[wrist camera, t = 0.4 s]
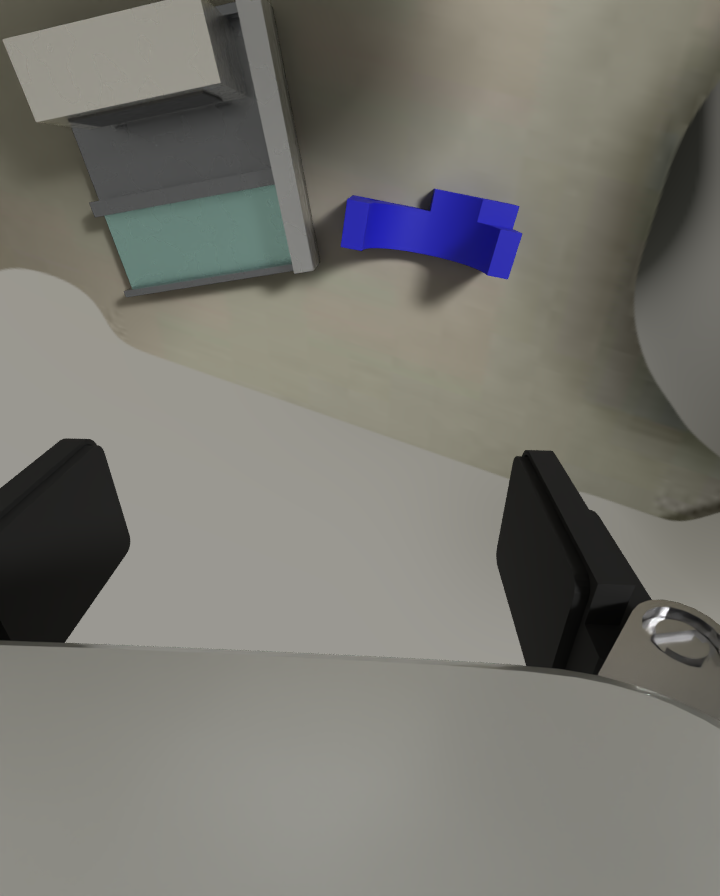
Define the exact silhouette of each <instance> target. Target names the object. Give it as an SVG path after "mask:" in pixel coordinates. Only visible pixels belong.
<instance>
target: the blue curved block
mask: <svg viewBox="0 0 720 896" xmlns="http://www.w3.org/2000/svg"><path fill="white" fill-rule="evenodd" d="M518 209H519V206H516V205H513V204H508V203H503V202H498V201H493V200H488V199H483V198H478V197H473V196H468V195H463V194H458V193H453V192H448V191H443V190H438V189H434V191H433V196H432V200H431V205H430V209H429V210H425V209H420V208H415V207H410V206H405V205H400V204H395V203H390V202H385V201H380V200H375V199H370V198H364V197H359V196H354V195H353V196H351V197H350V198H348V199H347V205H346V212H345V220H344V227H343V234H342V241H341V247H344V248H349V249H354V250H359V251H362V250H364V249H368V248H385V249H395V250H403V251H409V252H415V253H421V254H426V255H430V256H435V257H439V258H443V259H447V260H451V261H454V262H458V263H461V264H464V265H467V266H470V267H473V268H475V269H477V270H480V271H482V272H483V273H485V274H486V275H488V276H494V277H499V278H504V279H508V277H509V274H510V271H511V268H512V265H513V262H514V258H515V255H516V252H517V249H518V246H519V243H520V240H521V236H522V233H520V232H518V231H516V230H513V226H514V222H515V219H516V216H517V213H518Z"/></svg>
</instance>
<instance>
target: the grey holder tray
mask: <svg viewBox="0 0 720 896" xmlns="http://www.w3.org/2000/svg"><path fill="white" fill-rule="evenodd" d="M235 1H236V2H232V3H228V4H224V5H220V6H215V7H214V6H213V5H212V4H211V3H210V2H209V1H208V0H164V1H160V2H155V3H151V4H147V5H143V6H139V7H135V8H131V9H126V10H122V11H118V12H114V13H110V14H106V15H101V16H97V17H93V18H89V19H85V20H81V21H77V22H72V23H68V24H64V25H60V26H56V27H52V28H47V29H43V30H39V31H35V32H31V33H27V34H23V35H18V36H14V37H10V38H6V39H2V40H3V43H4V45H5V47H6V50H7V52H8V55H9V57H10V60H11V62H12V65H13V67H14V69H15V72H16V74H17V77H18V79H19V82H20V84H21V87H22V89H23V91H24V94H25V96H26V99H27V101H28V104H29V106H30V109H31V111H32V113H33V116H34V118H35V121H36V122H38V123H45V124H52V125H59V126H66V127H71V128H72V130H73V133H74V135H75V138H76V141H77V143H78V146H79V149H80V151H81V154H82V156H83V159H84V162H85V164H86V167H87V170H88V172H89V175H90V177H91V180H92V183H93V185H94V188H95V191H96V193H97V196H98V198H99V201H95V202H90V203H89V204H90V206H91V209H92V211H93V214H94V216H95V217H100V216H105V219H106V221H107V224H108V227H109V229H110V232H111V234H112V237H113V240H114V242H115V245H116V247H117V250H118V253H119V255H120V258H121V261H122V263H123V266H124V268H125V271H126V274H127V276H128V279H129V282H130V284H131V287H132V288H130V289H127V290H125V291H124V293H125V296H126V297H132V296H138V295H144V294H151V293H157V292H163V291H169V290H176V289H182V288H188V287H195V286H201V285H207V284H213V283H220V282H226V281H232V280H239V279H245V278H251V277H257V276H264V275H270V274H276V273H283V272H289V271H294V274H295V273H302V272H308V271H314V269H315V268H316V267H317V265H318V264H319V263H320V258H319V253H318V247H317V242H316V237H315V231H314V226H313V221H312V215H311V210H310V205H309V199H308V194H307V189H306V183H305V178H304V173H303V167H302V162H301V157H300V151H299V146H298V141H297V135H296V130H295V125H294V119H293V114H292V108H291V103H290V98H289V92H288V87H287V82H286V76H285V71H284V66H283V60H282V55H281V50H280V44H279V39H278V34H277V28H276V23H275V18H274V12H273V7H272V6H271V4H270V3H269V2H268V0H235Z"/></svg>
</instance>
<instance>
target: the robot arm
mask: <svg viewBox="0 0 720 896" xmlns="http://www.w3.org/2000/svg"><path fill="white" fill-rule="evenodd" d="M129 547H130V536H129V533H128V529H127V526H126V522H125V519H124V516H123V513H122V509H121V506H120V502H119V499H118V496H117V493H116V489H115V486H114V483H113V479H112V476H111V473H110V469H109V466H108V463H107V460H106V456H105V453H104V451H103V449H102V448H101V447H100V446H97V445H96V443H95V442H94V441H93V440H91V439H62V440H60V441H59V442H58V443H57V444H55V445H54V446H53V447H52V448H50V449H49V450H48V451H46V452H45V453H44V454H43V455H42V456H40V457H39V458H38V459H36V460H35V461H34V462H33V463H31V464H30V465H29V466H28V467H27V468H25V469H24V470H23V471H21V472H20V473H19V474H18V475H16V476H15V477H14V478H13V479H11V480H10V481H9V482H8V483H6V484H5V485H4V486H3V487H1V488H0V896H720V625H719V624H717V623H716V622H715V621H714V620H713V619H711V618H710V617H708V616H707V615H705V614H703V613H701V612H700V611H698V610H696V609H694V608H692V607H689V606H686V605H683V604H681V603H678V602H673V601H668V600H652V599H651V598H650V596H649V595H648V593H647V592H646V590H645V588H644V587H643V585H642V584H641V582H640V581H639V579H638V577H637V576H636V574H635V573H634V571H633V570H632V568H631V566H630V565H629V563H628V561H627V560H626V558H625V557H624V555H623V554H622V552H621V550H620V549H619V548H618V546H617V544H616V542H615V541H614V539H613V538H612V536H611V535H610V533H609V531H608V530H607V528H606V527H605V525H604V524H603V522H602V520H601V519H600V517H599V516H598V515H597V514H596V513H595V512H594V511H592V510H589V509H588V507H587V506H586V504H585V502H584V501H583V499H582V497H581V496H580V494H579V493H578V491H577V489H576V488H575V486H574V484H573V483H572V481H571V480H570V478H569V476H568V475H567V473H566V471H565V470H564V468H563V467H562V465H561V463H560V462H559V460H558V458H557V457H556V455H555V453H554V452H553V451H539V450H525V451H524V453H523V455H522V456H516V457H515V458H514V461H513V465H512V471H511V476H510V481H509V487H508V492H507V498H506V503H505V508H504V513H503V519H502V524H501V530H500V535H499V541H498V545H497V553H496V557H497V565H498V569H499V572H500V576H501V580H502V583H503V586H504V590H505V593H506V597H507V600H508V604H509V607H510V611H511V614H512V617H513V621H514V624H515V628H516V632H517V635H518V638H519V642H520V645H521V649H522V652H523V656H524V659H525V663H526V666H521V665H511V664H496V663H483V662H465V661H449V660H433V659H415V658H395V657H372V656H354V655H334V654H333V655H332V654H314V653H293V652H271V651H249V650H248V651H247V650H226V649H202V648H180V647H156V646H155V647H154V646H133V645H107V644H79V643H65V641H66V640H67V638H68V637H69V636H70V634H71V633H72V631H73V630H74V628H75V627H76V625H77V624H78V623H79V621H80V620H81V618H82V617H83V615H84V614H85V613H86V611H87V610H88V608H89V607H90V605H91V604H92V602H93V601H94V599H95V598H96V597H97V595H98V594H99V592H100V591H101V590H102V588H103V587H104V585H105V584H106V582H107V581H108V579H109V578H110V577H111V575H112V574H113V572H114V571H115V569H116V568H117V567H118V565H119V564H120V562H121V561H122V559H123V558H124V557H125V555H126V554H127V552H128V550H129Z"/></svg>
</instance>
